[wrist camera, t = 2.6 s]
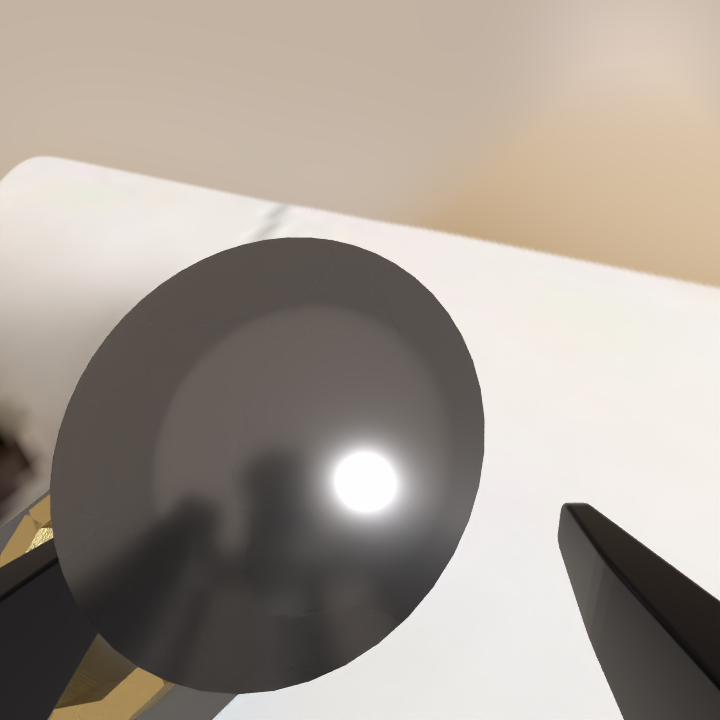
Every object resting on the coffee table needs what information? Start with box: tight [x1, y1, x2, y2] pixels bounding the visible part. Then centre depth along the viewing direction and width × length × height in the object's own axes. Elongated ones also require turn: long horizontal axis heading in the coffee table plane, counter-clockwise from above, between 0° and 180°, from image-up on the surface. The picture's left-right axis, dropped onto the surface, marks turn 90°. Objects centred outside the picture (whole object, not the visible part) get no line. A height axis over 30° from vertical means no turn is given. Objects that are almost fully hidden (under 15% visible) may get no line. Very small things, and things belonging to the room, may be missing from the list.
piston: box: [50, 238, 484, 694], centre depth 10 cm, size 5×5×13 cm
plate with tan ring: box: [0, 490, 238, 720], centre depth 14 cm, size 12×12×3 cm
